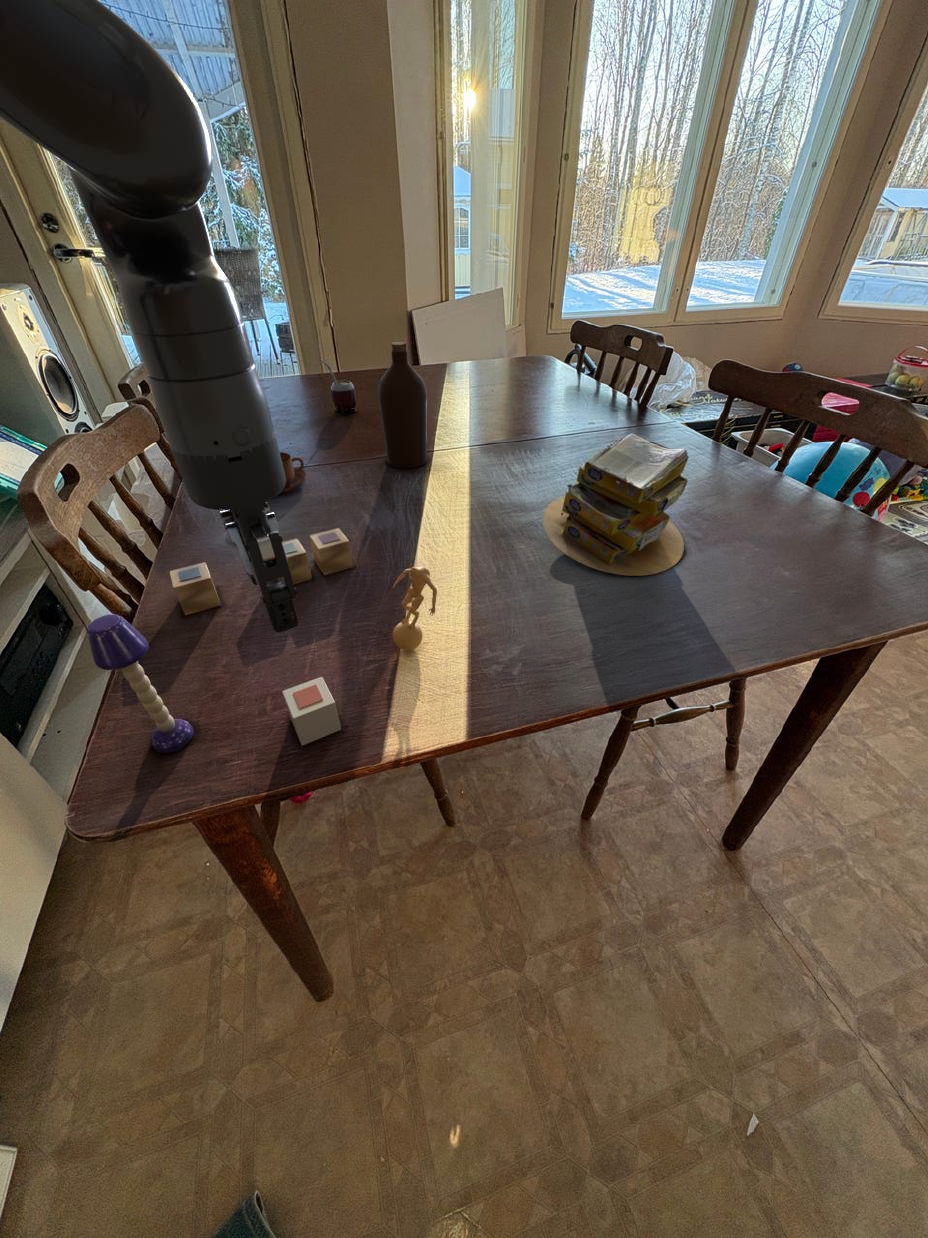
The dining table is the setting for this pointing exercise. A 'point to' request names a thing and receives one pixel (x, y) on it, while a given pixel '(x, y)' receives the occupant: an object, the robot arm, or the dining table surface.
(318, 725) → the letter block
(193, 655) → the dining table surface
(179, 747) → the toy lamp
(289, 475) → the cup and saucer
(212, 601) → the block row
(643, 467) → the stacked food boxes
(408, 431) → the olive oil
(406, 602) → the figurine
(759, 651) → the dining table surface
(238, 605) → the dining table surface
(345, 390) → the mate gourd
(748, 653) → the dining table surface
